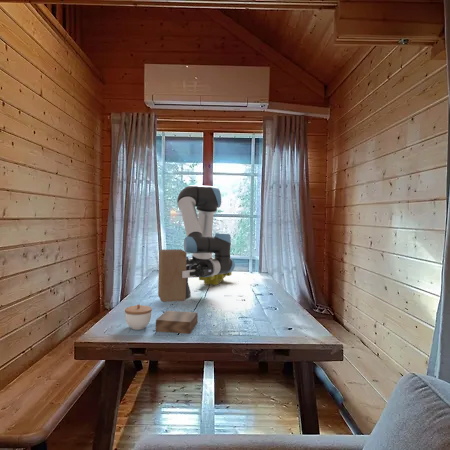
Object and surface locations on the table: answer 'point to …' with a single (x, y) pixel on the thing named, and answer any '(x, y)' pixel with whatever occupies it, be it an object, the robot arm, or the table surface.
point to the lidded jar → (138, 316)
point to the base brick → (176, 322)
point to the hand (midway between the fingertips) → (171, 272)
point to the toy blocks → (214, 278)
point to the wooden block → (172, 275)
